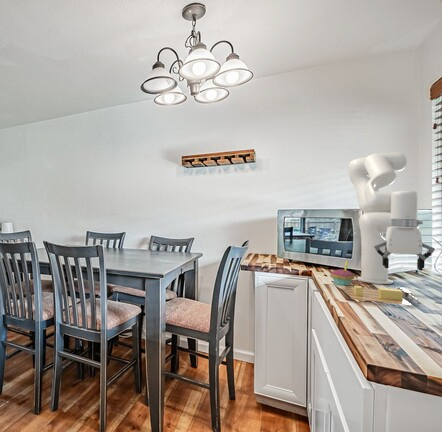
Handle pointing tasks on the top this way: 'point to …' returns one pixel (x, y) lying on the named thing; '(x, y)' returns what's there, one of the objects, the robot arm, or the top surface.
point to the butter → (390, 293)
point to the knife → (408, 294)
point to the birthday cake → (342, 276)
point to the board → (373, 296)
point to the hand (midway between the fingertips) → (402, 268)
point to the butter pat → (358, 290)
